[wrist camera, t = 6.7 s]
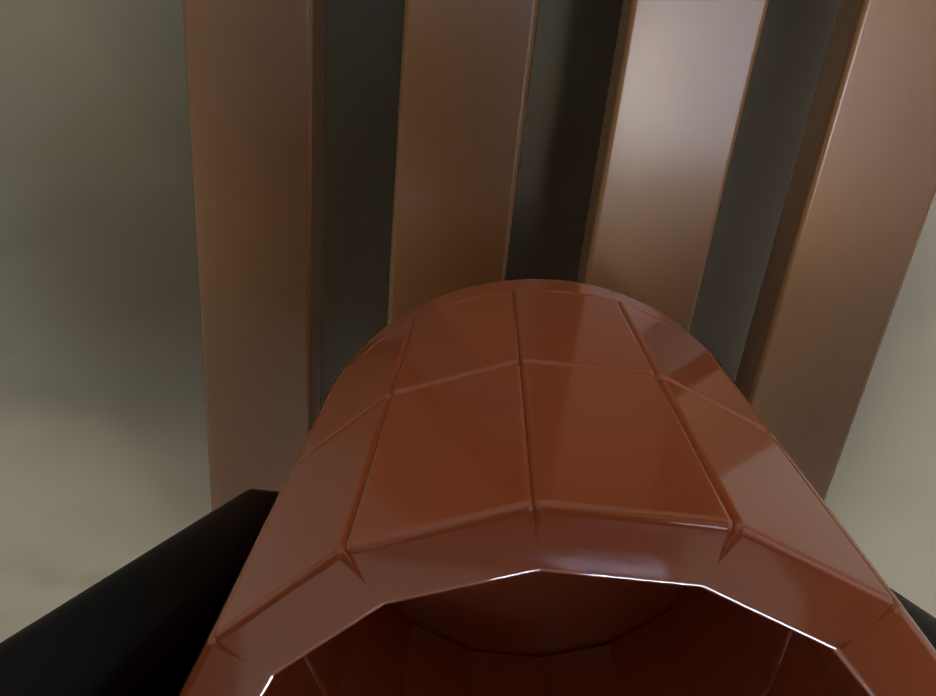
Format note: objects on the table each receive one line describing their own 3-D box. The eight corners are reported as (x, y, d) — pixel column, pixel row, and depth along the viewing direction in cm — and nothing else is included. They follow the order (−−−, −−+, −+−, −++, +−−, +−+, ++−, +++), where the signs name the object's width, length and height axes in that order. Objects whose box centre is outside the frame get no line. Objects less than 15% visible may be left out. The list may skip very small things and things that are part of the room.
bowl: (309, 629, 10) (183, 1021, 6) (313, 253, 8) (114, 460, 4) (694, 668, 10) (834, 1084, 6) (807, 303, 8) (1151, 566, 4)
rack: (243, 644, 18) (166, 824, 13) (208, -249, 10) (21, -455, 6) (704, 690, 18) (769, 883, 14) (978, -166, 11) (1292, -314, 6)
